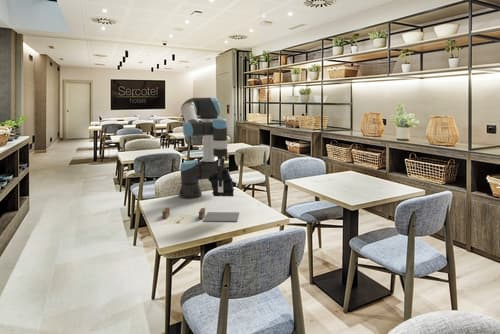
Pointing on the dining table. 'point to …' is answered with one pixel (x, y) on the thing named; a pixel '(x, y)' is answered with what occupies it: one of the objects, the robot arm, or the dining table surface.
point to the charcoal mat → (221, 217)
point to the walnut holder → (167, 213)
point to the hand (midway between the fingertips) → (221, 191)
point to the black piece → (226, 184)
